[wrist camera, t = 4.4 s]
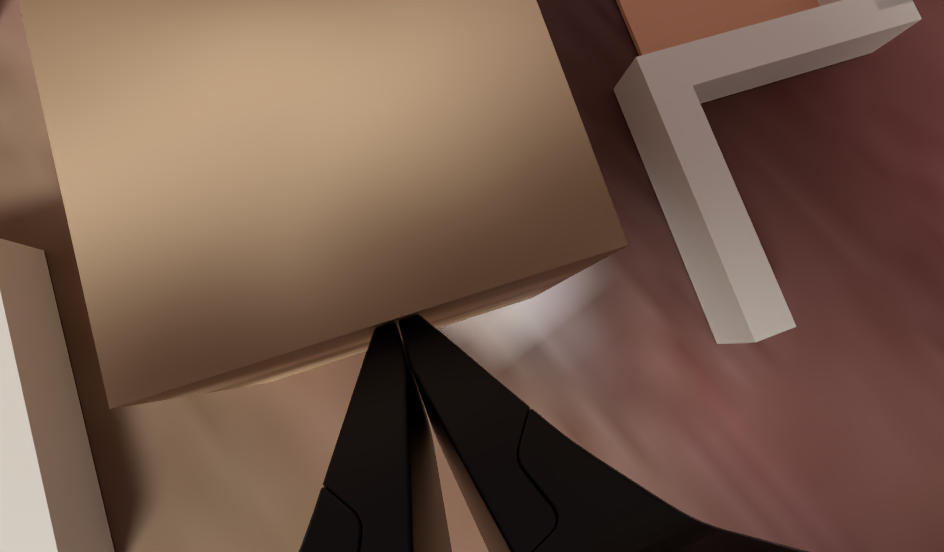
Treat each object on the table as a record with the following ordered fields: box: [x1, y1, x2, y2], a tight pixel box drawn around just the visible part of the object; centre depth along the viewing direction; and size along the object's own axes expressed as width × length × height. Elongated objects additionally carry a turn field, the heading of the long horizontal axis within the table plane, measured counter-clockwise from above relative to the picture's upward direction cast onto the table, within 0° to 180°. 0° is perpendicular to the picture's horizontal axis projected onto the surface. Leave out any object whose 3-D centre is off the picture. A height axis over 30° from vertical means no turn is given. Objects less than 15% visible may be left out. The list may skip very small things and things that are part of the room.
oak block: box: [19, 0, 628, 409], centre depth 13 cm, size 15×9×8 cm, turn 18°
